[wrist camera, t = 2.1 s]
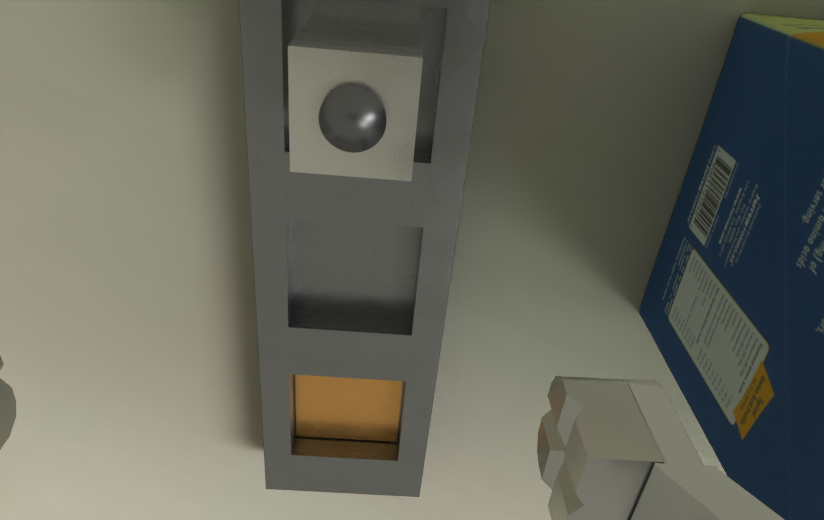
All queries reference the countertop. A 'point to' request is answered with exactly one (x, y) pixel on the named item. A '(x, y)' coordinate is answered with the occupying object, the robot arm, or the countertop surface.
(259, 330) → the grey compartment tray
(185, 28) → the countertop surface
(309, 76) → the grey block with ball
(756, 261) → the protein box
